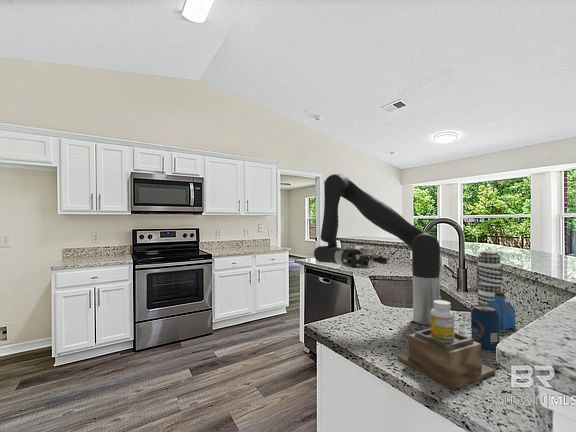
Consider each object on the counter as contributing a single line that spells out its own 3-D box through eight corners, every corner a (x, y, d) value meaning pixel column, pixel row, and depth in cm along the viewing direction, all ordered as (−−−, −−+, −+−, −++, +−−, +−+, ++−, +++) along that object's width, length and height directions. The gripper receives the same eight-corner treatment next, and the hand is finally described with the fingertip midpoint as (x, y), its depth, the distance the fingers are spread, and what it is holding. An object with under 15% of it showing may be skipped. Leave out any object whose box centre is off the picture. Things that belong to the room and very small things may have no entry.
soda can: (466, 343, 88) (465, 304, 88) (487, 342, 88) (486, 303, 89) (483, 353, 81) (482, 311, 81) (506, 352, 82) (505, 310, 82)
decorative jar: (365, 264, 247) (365, 244, 248) (377, 266, 238) (377, 244, 239) (357, 266, 239) (357, 245, 240) (369, 267, 231) (368, 245, 231)
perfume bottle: (485, 323, 105) (485, 290, 105) (497, 321, 107) (496, 289, 107) (503, 329, 99) (502, 295, 99) (515, 327, 101) (514, 293, 101)
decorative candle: (509, 316, 112) (507, 253, 113) (483, 314, 114) (481, 252, 115) (497, 309, 121) (495, 250, 122) (473, 307, 123) (472, 250, 124)
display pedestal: (437, 347, 85) (437, 321, 85) (495, 373, 70) (494, 341, 70) (397, 359, 78) (397, 329, 78) (452, 390, 64) (451, 354, 64)
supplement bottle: (433, 333, 78) (433, 298, 78) (456, 338, 75) (455, 301, 75) (428, 339, 74) (428, 302, 74) (452, 345, 71) (451, 306, 71)
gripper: (333, 249, 110) (360, 252, 96) (361, 247, 117) (391, 250, 102) (333, 268, 110) (361, 274, 96) (362, 265, 116) (392, 271, 102)
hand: (377, 262), depth 99 cm, fingers open, 8 cm apart
